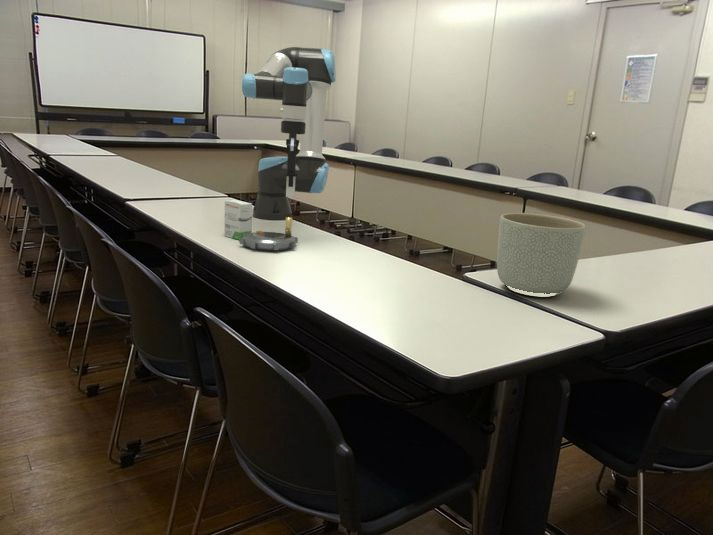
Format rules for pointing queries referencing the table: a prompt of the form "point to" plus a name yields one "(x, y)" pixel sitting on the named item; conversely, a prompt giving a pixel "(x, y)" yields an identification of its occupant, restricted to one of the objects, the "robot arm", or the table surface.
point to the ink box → (237, 218)
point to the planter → (538, 251)
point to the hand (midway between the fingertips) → (290, 196)
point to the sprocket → (271, 239)
